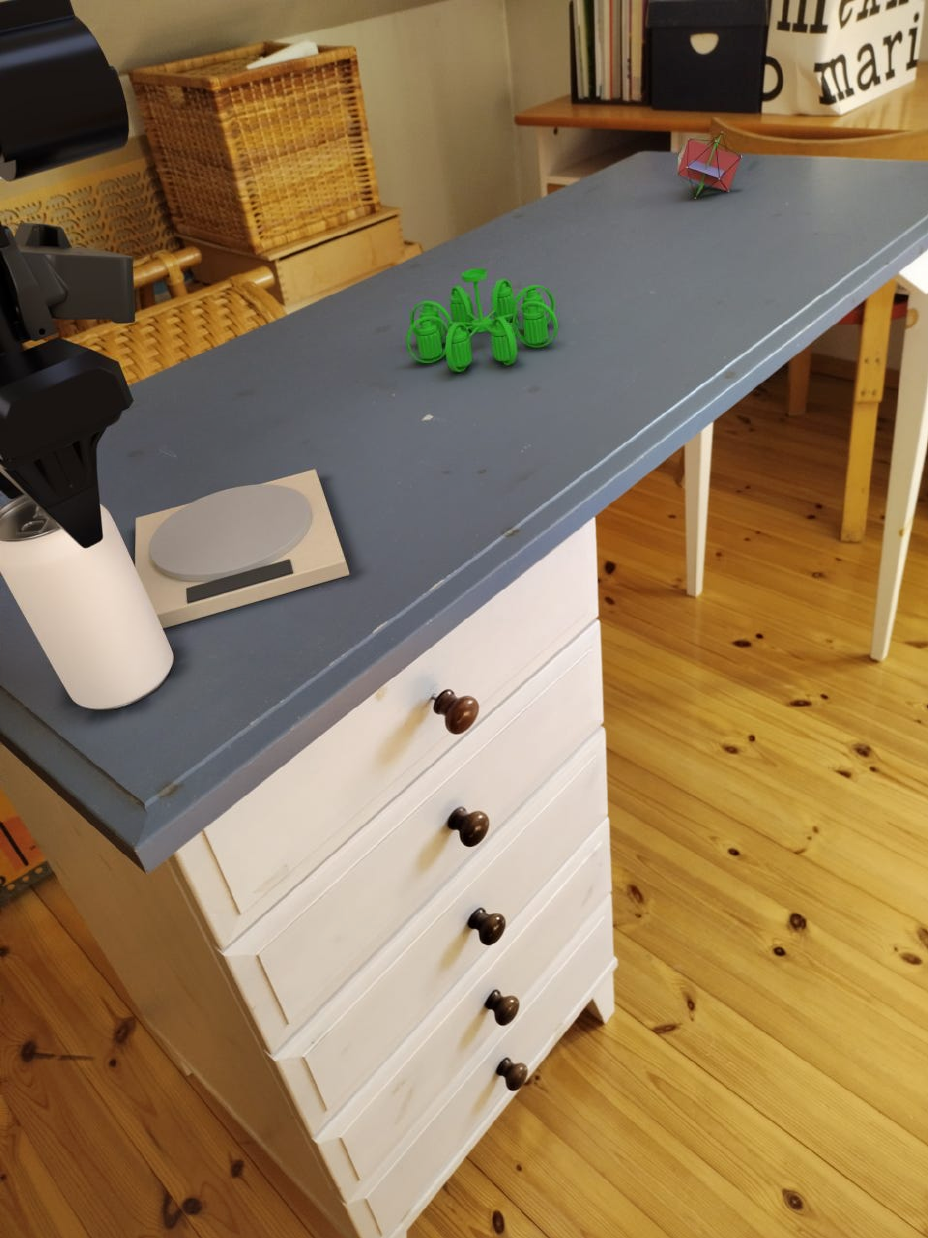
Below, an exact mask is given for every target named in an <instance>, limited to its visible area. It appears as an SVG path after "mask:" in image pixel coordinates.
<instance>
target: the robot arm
mask: <svg viewBox="0 0 928 1238" xmlns="http://www.w3.org/2000/svg"><path fill="white" fill-rule="evenodd" d="M126 100H127V99H126V97H125V93H124V89H123V85H122V82H121V80H120V77H119V74H118V72H117V69H116V68H115V66H113V65H110V64H109V61H108V59H107V57H106V54H105V53H104V50H103V49H102V47H101V45H100V44H99V42H98V40H97V38H96V37H95V35H94V34H93V33H92V31H91V29H89V27H88V26H87V25H86V23H85V22H83V21H82V20H81V19H80V18H79V17H78V16H77V15H76V13H75V10H74V8H73V5H72V1H71V0H1V1H0V178H1V179H3V180H4V181H6V182H9V183H10V182H14V181H18V180H21V179H24V178H27V177H31V176H35V175H37V174H42V173H44V172H48V171H51V170H55V169H59V168H63V167H65V166H69V165H72V164H75V163H78V162H82V161H86V160H89V159H92V158H96V157H99V156H102V155H106V154H110V153H113V152H116V151H119V150H121V149H123V148H125V146H126V145H127V143H128V140H129V135H130V119H129V111H128V106H127V101H126ZM134 275H135V274H134V257H133V256H131V255H127V254H122V253H118V252H113V251H108V250H104V249H99V248H91V247H85V246H75V247H74V246H72V244H71V242H70V240H69V238H68V236H67V234H66V232H65V230H64V229H63V228H62V227H61V226H59V225H54V224H48V223H38V222H37V223H35V222H23V221H21V222H19V223H18V227H17V229H16V231H15V233H13V232H12V230H11V228H10V227H9V226H8V225H5V224H3V223H2V221H0V493H1V494H3V495H4V496H5V497H6V498H8V499H9V500H14V499H16V498H18V497H20V496H22V495H24V494H25V495H26V496H27V497H28V498H29V499H30V500H31V501H32V502H33V503H35V504H36V505H37V506H38V507H39V508H40V509H41V510H42V511H43V512H44V513H45V514H46V515H47V516H48V517H49V518H51V519H52V520H53V521H54V522H55V523H56V524H57V525H58V526H59V527H60V528H61V529H62V530H63V531H64V532H66V533H67V534H68V535H69V536H70V537H71V538H72V539H73V540H74V541H75V542H76V543H78V544H79V545H80V546H81V547H83V548H89V547H91V546H93V545H95V544H97V543H98V542H100V541H101V540H102V539H103V529H102V518H101V508H100V504H101V497H100V488H99V477H98V453H97V452H98V444H99V442H100V441H101V439H102V437H103V435H104V434H105V432H106V430H107V428H109V427H110V426H113V425H114V424H116V423H118V422H119V420H120V419H121V416H122V414H123V412H124V411H126V410H128V409H130V407H131V406H132V404H133V403H134V401H135V400H134V397H133V395H132V392H131V389H130V387H129V385H128V383H127V380H126V377H125V375H124V371H123V368H122V367H121V364H120V362H119V361H118V360H116V359H113V358H111V357H109V356H107V355H105V354H104V353H103V354H102V353H101V352H98V351H96V350H95V349H91V348H89V347H86V346H84V345H80V344H78V343H76V342H73V341H70V340H68V339H64V338H62V337H59V336H57V337H55V338H52V339H50V340H47V341H44V342H41V343H39V344H37V345H34V346H32V347H29V348H27V349H26V348H25V346H24V344H25V343H27V342H30V341H33V342H38V341H41V340H43V339H46V338H48V337H51V336H53V335H56V334H58V333H59V330H58V328H57V326H56V324H55V321H54V320H64V321H65V320H67V321H68V320H70V321H71V320H87V321H89V320H110V321H111V322H112V323H114V324H117V325H118V324H121V325H122V324H124V325H125V324H128V325H129V324H134V323H135V322H136V306H135V305H136V304H135V302H136V301H135V278H134V277H135V276H134Z"/></svg>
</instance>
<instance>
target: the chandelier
mask: <svg viewBox="0 0 928 1238" xmlns="http://www.w3.org/2000/svg"><path fill="white" fill-rule="evenodd" d="M487 277H488V273H487V270H486V269H485V268H482V267H480V268H471V269H468V270H465V271H464V272H462V273H461V278H462V282H464V283H473V287H474V288H473V289H474V295H475V302H476V309H477V316H478V317H475V314H474V313H475V312H474V306H473V301H472V299H471V298H470V294H469V293H468V292H465V290H464V289H463V287H462V286H460V285H456V286H453V287H452V288H451V291H450V303H449V309H450V314H451V316H450V314H449V313H448V311H447V310H446V308H445V307H443V306H442V305H441V304H440V303H438V302H436V301H432V300H423V301H421V302H419V303H417V305H416V306H414V308H413V309H412V311H411V312H410V317H409V323H410V324H409V325H410V326H409V328H408V330H407V333H406V337H405V345H406V349H407V351H408V353H409V354H410V355H411V357H412V358H413V359H414V360H416V361H417V362H419V363H423V364H432V363H436V362H437V361H440V360H441V359H442V358H443V357H445V358H446V361H447V362H446V363H447V365H448V367H449V368H450V370H451V371H452V372H454V373H462V372H464V371H465V370H466V369H467V366H469V365H470V364H471V363H472V362H473V352H472V343H471V338H472V337H473V335H475V333H481V332H487V331H488V332H489V333H491V335H490V340H491V348H492V354H493V357H494V359H495V360H496V361H499V362H502V363H503V364H504V365H505V366H510V365H514V363H515V362H516V358H517V355H518V345H517V339H518V340H519V341H520V342H521V343H522V344H524V345H526V346H528V347H530V348H535V349H536V348H537V349H538V348H544V347H546V346H548V345H549V344H550V343H551V342H552V341H553V340H554V339H555V338H556V336H557V334H558V328H559V323H558V319H557V318H558V317H557V316H556V314H555V310H556V302H555V298H554V295H553V294H552V292H551V291H550V289H548V288H546V287H545V286H542V285H539V284H532V285H528V286H526V287H524V288H523V289H521V290H520V291H519V293H518V294H516V297H515V296H514V289H513V286H512V284H511V281H509V280H508V279H507V278H502V279H501V278H500V279H498V280H497V281H496V282H495V285H494V287H493V289H492V291H491V294H492V296H491V298H490V299H491V309H492V311H491V312H490V313H489V314H488V315H487V316H485V317H484V316H483V309H482V304H481V297H480V296H481V295H480V290H479V284H478V282H481V281H483V280H485V279H486V278H487ZM537 289H540V290H543V291H545V292H546V293H547V295H548V297H549V299H550V306H548V304H545V300H544V298H543V294H542V293H541V292H538V291H537ZM521 298H522V302H521V305H520V306H519V307H518V308H517V306H518V303H519V301H520V299H521ZM421 306H422V310H419V317H418V319H416V320H415V314H416V311H417V309H418V308H420V307H421ZM520 310H521V311H522V324H521V323H520V322H519V320H518V318H517V317H518V314H519V312H520ZM439 311H440V312H441V313H442V314H443V316H444V318H445V320H446V322H445V321H443V319H442V315H441V314H440V312H439ZM546 312H547V313H548V315H546ZM492 316H493V318H491V317H492ZM511 320H512V322H510V321H511ZM551 320H552V322H553V334H552V336H551V338H550V339H549V340H548V338H549V332H548V324H549V323H550V322H551ZM446 323H447V324H446ZM444 328H445V330H444ZM519 328H520V329H522V330H523V335H524V336H523V335H522V334H521V332H520V331H519ZM445 331H446V336H445ZM470 331H471V332H470ZM412 333H413V334H414V336H415V338H416V344H417V349H418V354H419V356H420V357H421V358H420V357H418V356H416V355H415V354H414V353H413V352H412V349H411V346H410V345H411V344H410V339H411V335H412ZM444 336H445V338H444ZM516 337H517V338H516ZM443 343H445V346H444V347H443V346H442V344H443Z"/></svg>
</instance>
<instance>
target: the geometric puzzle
mask: <svg viewBox="0 0 928 1238" xmlns="http://www.w3.org/2000/svg"><path fill="white" fill-rule="evenodd" d="M717 134H718V135H717ZM712 135H714V133H712V134H711V136H712ZM716 135H717V136H716V137H715V138H713V139H712V140H710V141H709V140H706V139H701V141H703V142H709V143H708V144H705V143H702V142H699V141H697V138H698V136H697V137H695V138H692V137H691V138H687V141H686V143H685V144H684V146H683V147H682V149H681V150H680V151H679V153H678V155H677V166H676V167H677V169H676V175H677V176H678V177H681V178H680V180H681V181H683V179H684V180H687V181H689V182H690V184H691V188H692V191H693V193H692V191H690V193H691V194H693V197H694V199H696V200H697V198H699V197H700V198H702V197H704V195H703V196H700V195H701V194H703V193H704V192H705V191H707V190H710V188H711V187H715V188H717V189H715V188H711V191H712V190H713V191H721V194H722V193H723V194H724V192H726V193H730V188H731V186H732V184H733V183H732V182H733V180H734V178H735V175H736V173H737V170H738V167H739V164H740V161H741V159H742V158H743V156H742V155H741V154H740V153H736V152H734V151H733V150H732V149H730V148H728V147H727V145H726V141H725V138H724V137H726V135H725V134H724V131H721V132H720V133H719V132H718V133H716ZM706 136H708V134H707V135H705V137H706ZM701 137H702V138H703V135H702V136H701V135H700V138H701ZM721 137H722V139H723V143H724V145H723V144H721V143H720V139H721ZM726 140H728V142H730V141H729V139H728V138H726ZM712 142H713V143H712ZM711 143H712V144H711ZM710 144H711V145H710ZM718 145H720V146H722V147H723V148H725V150H722V149H720V148H718ZM730 145H731V146H733V144H732V143H730ZM734 150H735V151H737V149H736V148H734ZM728 151H730V152H728ZM682 178H683V179H682ZM692 180H693V181H697V182H700V184H699V185H698V184H697V183H695V182H693V181H692ZM683 183H684V182H683ZM684 184H685V183H684ZM685 185H686V184H685ZM693 185H695V186H697V187H698V190H697V192H696V194H695V190H694V186H693ZM707 185H709V186H708V187H706V186H707ZM703 189H704V190H703ZM716 194H719V192H718V193H715V195H716ZM712 195H714V193H712V194H710V196H712ZM708 196H709V194H708V195H706V194H705V197H708Z"/></svg>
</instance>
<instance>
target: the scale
mask: <svg viewBox="0 0 928 1238" xmlns="http://www.w3.org/2000/svg"><path fill="white" fill-rule="evenodd" d="M134 544H135V545H134V546H135V549H134V566H135V568H136V570H137V573H138V575H139V577H140V579H141V581H142V584H143V586H144V588H145V590H146V593H147V595H148V597H149V599H150V601H151V604H152V606H153V608H154V610H155V613H156V615H157V617H158V619H159V622H160V624H161V626H162V628H163V629H166V628H171V627H174V626H177V625H181V624H184V623H188V622H191V621H195V620H198V619H201V618H204V617H208V616H211V615H215V614H218V613H223V612H226V611H230V610H233V609H236V608H240V607H243V606H246V605H250V604H253V603H257V602H260V601H263V600H268V599H271V598H275V597H278V596H281V595H285V594H288V593H291V592H295V591H299V590H301V589H305V588H309V587H312V586H315V585H316V586H317V585H320V584H323V583H326V582H329V581H330V582H331V581H333V580H337V579H340V578H343V577H348V576H349V575H350V569H349V567H348V563H347V560H346V557H345V554H344V550H343V548H342V544H341V542H340V539H339V536H338V533H337V530H336V527H335V524H334V520H333V517H332V515H331V512H330V509H329V506H328V503H327V500H326V496H325V494H324V490H323V488H322V484H321V481H320V479H319V475H318V472H317V469H316V468H314V469H311V470H306V471H303V472H300V473H296V474H292V475H289V476H285V477H280V478H278V479H274V480H270V481H266V482H263V483H258V484H249V485H248V484H247V485H241V486H235V487H231V488H227V489H223V490H219V491H216V492H213V493H211V494H208V495H205V496H202V497H201V498H198V499H196V500H194V501H192V502H190V503H185V504H183V505H179V506H175V507H171V508H167V509H164V510H159V511H158V512H153V513H149V514H145V515H143V516H142V515H141V516H138V517H136V518H135V543H134Z"/></svg>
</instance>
